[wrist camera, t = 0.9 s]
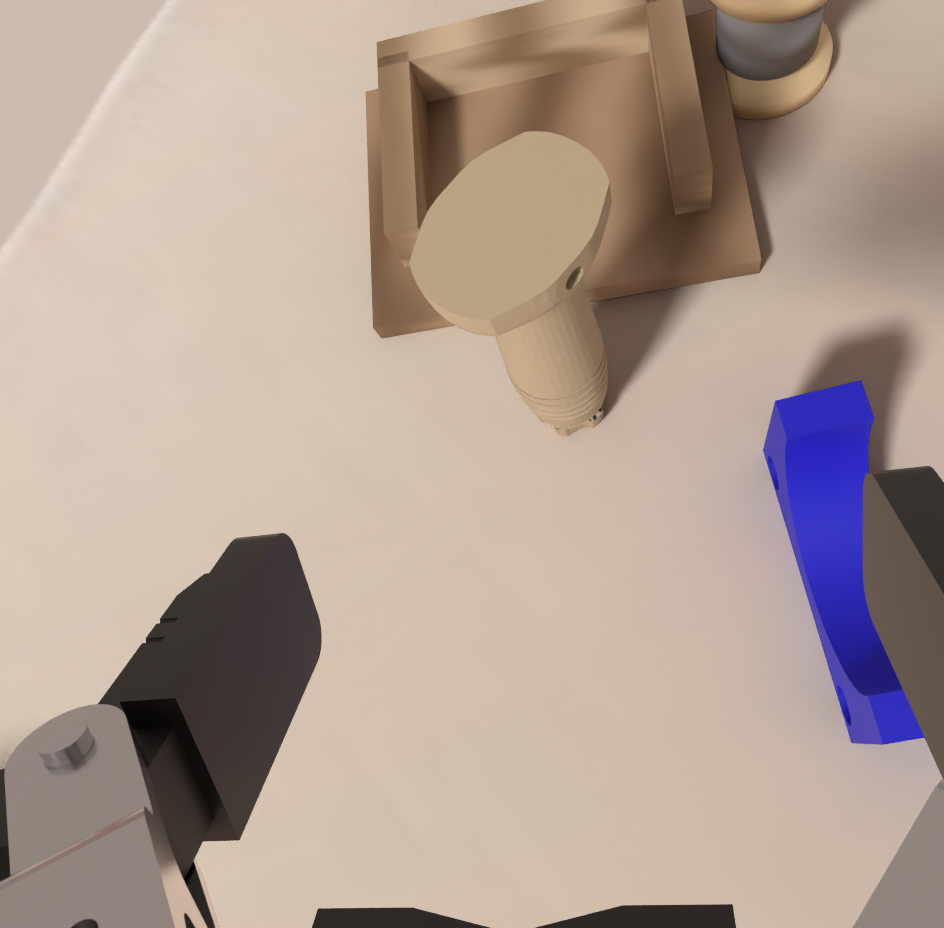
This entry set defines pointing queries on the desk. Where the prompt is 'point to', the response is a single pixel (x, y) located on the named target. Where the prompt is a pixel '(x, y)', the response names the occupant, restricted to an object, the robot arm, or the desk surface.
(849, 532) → the cable clip
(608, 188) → the handle
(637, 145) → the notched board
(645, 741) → the desk surface
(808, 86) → the bobbin
